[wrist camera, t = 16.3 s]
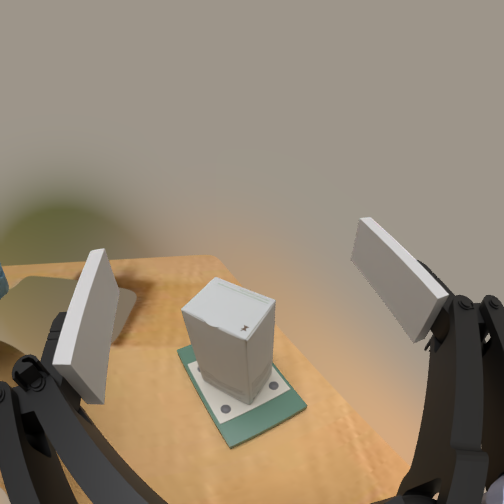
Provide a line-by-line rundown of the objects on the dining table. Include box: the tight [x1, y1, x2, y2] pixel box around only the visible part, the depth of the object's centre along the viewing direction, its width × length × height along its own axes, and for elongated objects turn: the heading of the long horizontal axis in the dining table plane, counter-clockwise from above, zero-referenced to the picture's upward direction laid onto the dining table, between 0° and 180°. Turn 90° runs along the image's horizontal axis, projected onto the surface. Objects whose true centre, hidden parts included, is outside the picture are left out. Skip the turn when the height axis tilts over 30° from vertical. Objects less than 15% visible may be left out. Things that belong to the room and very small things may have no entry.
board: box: [177, 344, 307, 449], centre depth 38 cm, size 18×12×2 cm, turn 30°
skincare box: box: [181, 277, 276, 405], centre depth 33 cm, size 8×7×16 cm
